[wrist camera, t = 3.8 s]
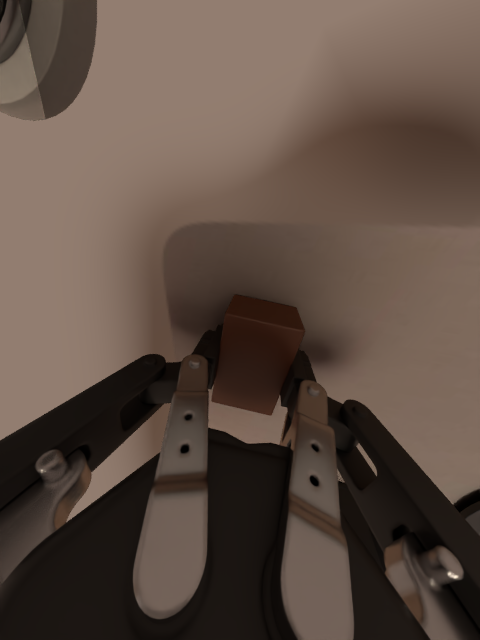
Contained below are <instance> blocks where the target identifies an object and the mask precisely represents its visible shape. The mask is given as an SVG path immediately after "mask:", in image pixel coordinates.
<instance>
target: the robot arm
mask: <svg viewBox="0 0 480 640" xmlns="http://www.w3.org/2000/svg"><path fill="white" fill-rule="evenodd" d="M30 7H31V0H0V63H3V62H4V61H5V60H7V59H8V58H9V57H10V56H11V55H12V54H13V53H14V51H15V50H16V48H17V47H18V45H19V44H20V42H21V39H22V37H23V35H24V32H25V29H26V26H27V22H28V18H29V14H30ZM222 330H223V326H222V325H218V326H217V328H216V330H215V331H212V330H208V331H207V332H205V333H204V334H203V336H202V338H201V339H200V341H199V343H198V344H197V346H196V348H195V349H194V351H193V353H192V355H189V356H186V357H185V358H184V359H183V360H182V362H173V363H166V361H165V358H164V357H163V356H161V355H158V354H149V355H145V356H142V357H141V358H139V359H137V360H135V361H134V362H132V363H130V364H129V365H127V366H125V367H124V368H122V369H121V370H119V371H117V372H115V373H114V374H112V375H110V376H108V377H107V378H105V379H103V380H102V381H100V382H98V383H97V384H95V385H93V386H92V387H90V388H88V389H86V390H85V391H83V392H81V393H80V394H78V395H76V396H75V397H73V398H71V399H70V400H68V401H66V402H65V403H63V404H61V405H60V406H58V407H56V408H54V409H53V410H51V411H49V412H48V413H46V414H44V415H43V416H41V417H39V418H38V419H36V420H34V421H32V422H31V423H29V424H27V425H26V426H24V427H22V428H21V429H19V430H17V431H16V432H14V433H12V434H11V435H9V436H7V437H5V438H4V439H2V440H0V640H480V536H479V534H478V533H477V532H476V531H475V530H474V529H473V528H472V526H471V525H470V524H469V523H468V522H467V521H466V520H465V518H464V517H463V516H462V515H461V514H460V513H459V512H458V510H457V509H456V508H455V507H454V506H453V505H452V504H451V502H450V501H449V500H448V499H447V498H446V497H445V496H444V494H443V493H442V492H441V491H440V490H439V489H438V487H437V486H436V485H435V484H434V483H433V482H432V481H431V479H430V478H429V477H428V476H427V475H426V474H425V473H424V471H423V470H422V469H421V468H420V467H419V466H418V465H417V463H416V462H415V461H414V460H413V459H412V458H411V457H410V455H409V454H408V453H407V452H406V451H405V450H404V449H403V447H402V446H401V445H400V444H399V443H398V442H397V441H396V439H395V438H394V437H393V436H392V435H391V434H390V433H389V431H388V430H387V429H386V428H385V427H384V426H383V425H382V423H381V422H380V421H379V420H378V419H377V418H376V417H375V415H374V414H373V413H372V412H371V411H370V410H369V409H368V408H367V407H366V406H365V405H363V404H362V403H360V402H358V401H355V400H346V401H345V402H344V404H342V403H340V402H337V401H335V400H333V399H331V398H329V397H328V396H327V393H326V391H325V389H324V388H323V387H322V386H321V385H320V384H318V383H317V382H316V379H315V376H314V373H313V370H312V368H311V364H310V361H309V358H308V356H307V354H306V353H305V352H304V351H301V350H299V348H298V351H297V353H296V356H295V358H294V361H293V363H292V365H291V368H290V370H289V373H288V375H287V377H286V380H285V382H284V385H283V387H282V390H281V392H280V397H281V406H283V407H287V409H288V412H287V414H286V416H285V421H284V426H283V430H282V435H281V440H280V445H277V444H273V443H257V444H247V443H244V442H243V441H241V440H239V439H237V438H235V437H233V436H231V435H230V434H228V433H226V432H223V431H219V430H215V429H211V428H208V398H209V392H208V389H212V387H213V384H214V381H215V377H216V371H217V365H218V358H219V352H220V342H221V336H222ZM164 403H171V406H170V411H169V416H168V420H167V425H166V430H165V434H164V438H163V443H162V448H161V452H160V453H158V454H157V455H156V456H154V457H153V458H152V459H150V460H149V461H148V462H146V463H145V464H144V465H142V466H141V467H140V468H139V469H137V470H136V471H134V472H133V473H132V474H130V475H129V476H128V477H126V478H125V479H124V480H122V481H121V482H120V483H118V484H117V485H116V486H114V487H113V488H112V489H110V490H109V491H108V492H106V493H105V494H104V495H102V496H101V497H100V498H99V499H97V500H96V501H94V502H93V503H92V504H91V505H89V506H88V507H87V508H85V509H84V510H83V511H81V512H80V513H79V514H77V515H76V516H75V517H73V518H72V519H71V520H69V521H68V522H67V523H66V521H67V518H68V516H69V514H70V512H71V510H72V509H73V507H74V506H75V505H76V503H77V502H78V501H79V500H80V498H81V497H82V496H83V495H84V493H85V492H86V490H87V489H88V487H89V484H90V481H91V472H92V471H94V470H95V468H97V467H98V466H99V465H100V464H101V463H102V462H103V461H104V460H105V459H106V458H107V457H108V456H109V455H111V453H112V452H114V451H115V450H116V449H117V448H118V447H119V446H120V445H121V444H122V443H123V442H124V441H125V440H126V439H127V438H128V437H129V436H131V435H132V434H133V433H134V432H135V431H136V430H137V429H138V428H139V427H140V426H141V425H142V424H143V423H144V422H145V421H146V420H148V419H149V418H150V417H151V416H152V415H153V414H154V413H155V412H156V411H157V410H158V409H159V408H160V407H161V406H162V405H163V404H164ZM358 443H360V445H361V446H362V448H363V449H364V450H365V452H366V453H367V455H368V456H369V458H370V459H371V460H372V462H373V463H374V465H375V467H376V470H377V476H376V475H375V474H374V472H373V471H372V469H371V468H370V466H369V465H368V463H367V462H366V460H365V459H364V457H363V456H362V454H361V453H360V451H359V450H358V448H357V447H356V446H357V444H358ZM337 469H338V470H339V472H340V474H341V476H342V478H343V480H344V481H345V483H346V485H347V487H348V489H349V491H350V492H351V494H352V496H353V498H354V500H355V502H356V503H357V505H358V507H359V509H360V511H361V513H362V514H363V516H364V518H365V520H366V522H367V524H368V525H369V527H370V529H371V531H372V533H373V535H374V536H375V538H376V540H377V542H378V544H379V546H380V547H381V549H382V551H383V553H384V562H385V566H386V570H385V573H384V572H383V570H382V569H381V568H380V566H379V565H378V563H377V562H376V560H375V559H374V558H373V556H372V555H371V553H370V552H369V550H368V549H367V548H366V546H365V545H364V543H363V542H362V540H361V539H360V538H359V536H358V535H357V533H356V532H355V530H354V529H353V527H352V526H351V525H350V523H349V522H348V520H347V519H346V517H345V516H344V515H343V513H342V512H341V510H340V507H339V491H338V476H337Z"/></svg>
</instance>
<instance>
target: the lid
mask: <svg viewBox="0 0 480 640" xmlns="http://www.w3.org/2000/svg"><path fill="white" fill-rule="evenodd" d="M460 514H461V515H462V516H463V517H464V518H465V520H466V521H467V522H468V523H469V524H470V525H471V526H472V528H473V529H474V530H475V531H476V532H477V533H478V534H479V536H480V501H478V502H476V503H474V504H472V505H470V506H469V507H467V508H465V509H464V510H463V511H461V512H460Z"/></svg>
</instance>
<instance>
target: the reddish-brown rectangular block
mask: <svg viewBox="0 0 480 640" xmlns="http://www.w3.org/2000/svg"><path fill="white" fill-rule="evenodd" d="M304 333H305V329H304V326H303V324H302V321H301V318H300V316H299V313H298V310H297V308H296V307H291V306H287V305H282V304H278V303H273V302H268V301H264V300H259V299H254V298H250V297H245V296H240V295H234V296H233V298H232V301H231V303H230V305H229V307H228V309H227V311H226V313H225V317H224V323H223V330H222V336H221V342H220V352H219V358H218V365H217V371H216V377H215V381H214V387H213V394H212V402H215V403H220V404H224V405H228V406H232V407H236V408H241V409H245V410H249V411H253V412H258V413H262V414H266V415H272V413H273V410H274V408H275V405H276V403H277V400H278V398H279V395H280V392H281V390H282V387H283V385H284V382H285V380H286V377H287V375H288V373H289V370H290V368H291V365H292V363H293V361H294V358H295V356H296V353H297V351H298V348H299V346H300V343H301V341H302V338H303V336H304Z"/></svg>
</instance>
